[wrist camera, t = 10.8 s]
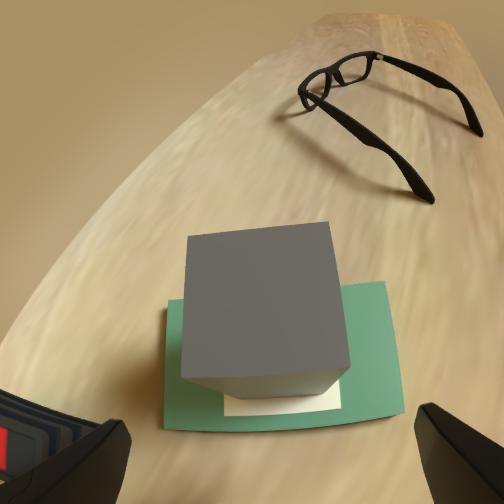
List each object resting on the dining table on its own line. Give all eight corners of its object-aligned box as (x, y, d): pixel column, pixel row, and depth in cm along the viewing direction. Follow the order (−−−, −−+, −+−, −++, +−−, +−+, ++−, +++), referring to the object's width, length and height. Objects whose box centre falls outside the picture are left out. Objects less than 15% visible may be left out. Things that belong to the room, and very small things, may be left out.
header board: (399, 413, 17) (425, 410, 13) (170, 428, 19) (138, 428, 15) (380, 287, 22) (397, 255, 18) (174, 306, 23) (147, 278, 19)
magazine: (-11, 382, 20) (-112, 348, 7) (119, 422, 23) (88, 439, 10) (-15, 419, 18) (-118, 410, 5) (115, 462, 21) (86, 515, 8)
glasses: (367, 75, 37) (368, 44, 33) (484, 135, 28) (495, 102, 24) (283, 126, 33) (278, 87, 29) (427, 213, 25) (442, 172, 20)
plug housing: (316, 316, 20) (328, 221, 11) (323, 393, 18) (351, 366, 9) (238, 322, 21) (187, 236, 12) (240, 399, 18) (180, 377, 9)
